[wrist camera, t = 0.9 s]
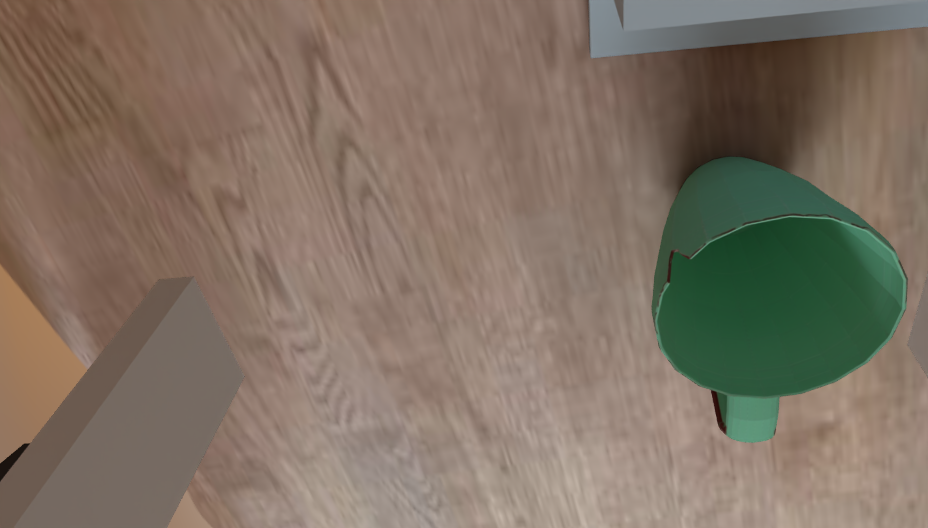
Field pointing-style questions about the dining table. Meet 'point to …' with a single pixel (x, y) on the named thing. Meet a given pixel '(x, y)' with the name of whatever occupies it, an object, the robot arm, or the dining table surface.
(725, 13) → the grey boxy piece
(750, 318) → the mug
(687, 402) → the dining table surface
